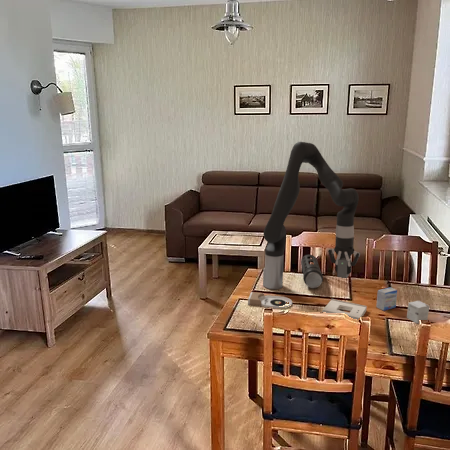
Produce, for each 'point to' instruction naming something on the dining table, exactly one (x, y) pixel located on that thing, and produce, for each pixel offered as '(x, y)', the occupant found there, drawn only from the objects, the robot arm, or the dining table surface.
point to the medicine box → (386, 298)
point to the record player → (268, 300)
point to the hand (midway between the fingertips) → (343, 273)
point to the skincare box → (417, 311)
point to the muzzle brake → (311, 272)
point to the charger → (342, 268)
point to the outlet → (345, 308)
